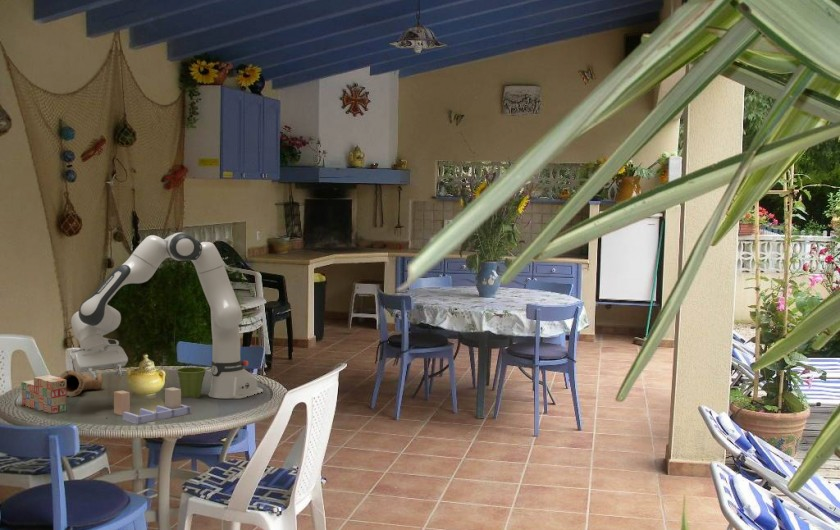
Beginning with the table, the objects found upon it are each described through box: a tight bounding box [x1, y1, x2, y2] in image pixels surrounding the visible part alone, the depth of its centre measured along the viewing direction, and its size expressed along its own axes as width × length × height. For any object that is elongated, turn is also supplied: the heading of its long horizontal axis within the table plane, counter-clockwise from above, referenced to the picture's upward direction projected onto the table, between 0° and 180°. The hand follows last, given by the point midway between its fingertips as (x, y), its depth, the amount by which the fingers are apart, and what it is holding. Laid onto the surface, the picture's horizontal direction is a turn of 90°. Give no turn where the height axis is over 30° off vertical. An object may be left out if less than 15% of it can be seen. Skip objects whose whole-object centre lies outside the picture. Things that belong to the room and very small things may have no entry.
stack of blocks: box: [20, 374, 68, 414], centre depth 339 cm, size 21×6×12 cm, turn 52°
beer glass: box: [64, 347, 81, 371], centre depth 383 cm, size 7×7×15 cm
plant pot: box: [175, 366, 207, 399], centre depth 360 cm, size 12×12×11 cm
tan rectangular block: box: [113, 389, 131, 417], centre depth 328 cm, size 4×5×9 cm
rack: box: [122, 403, 192, 425], centre depth 325 cm, size 22×10×4 cm, turn 139°
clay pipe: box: [59, 370, 104, 398], centre depth 365 cm, size 19×11×15 cm
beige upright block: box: [164, 386, 182, 409], centre depth 330 cm, size 4×5×9 cm
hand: (108, 377), depth 334 cm, fingers open, 8 cm apart
